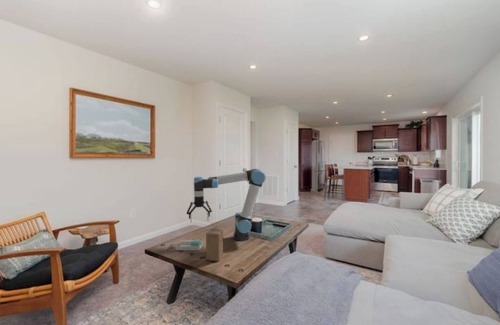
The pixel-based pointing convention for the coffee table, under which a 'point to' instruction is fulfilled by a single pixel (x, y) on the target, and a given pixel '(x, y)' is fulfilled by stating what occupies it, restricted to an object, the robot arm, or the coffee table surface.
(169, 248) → the mat
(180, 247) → the chute
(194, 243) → the teal block
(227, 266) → the coffee table surface
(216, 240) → the wooden block
